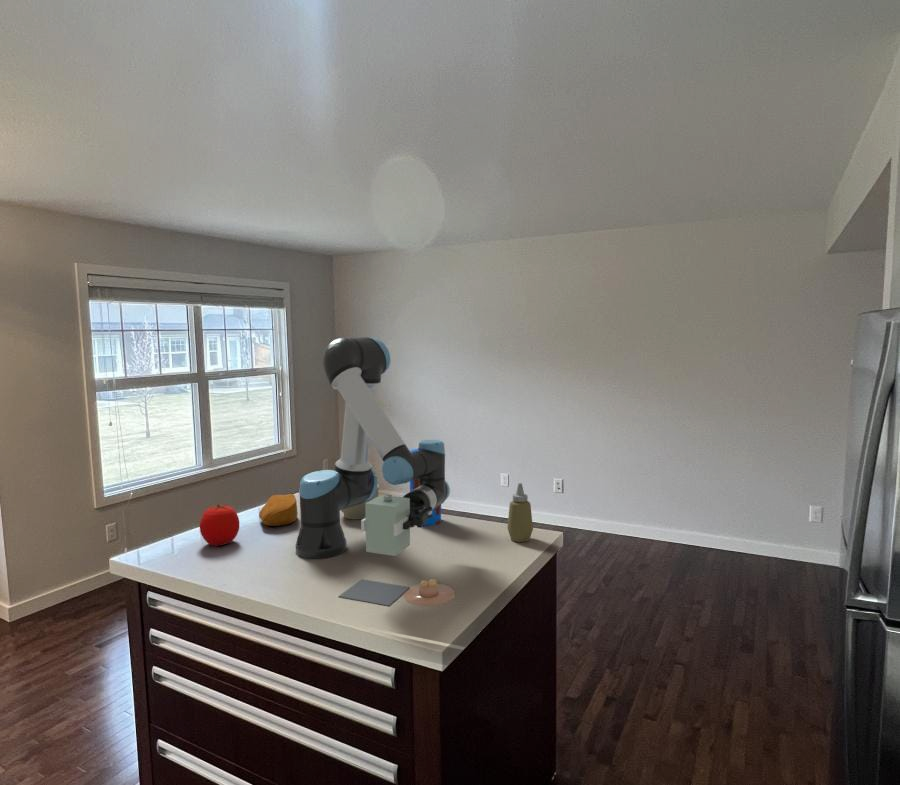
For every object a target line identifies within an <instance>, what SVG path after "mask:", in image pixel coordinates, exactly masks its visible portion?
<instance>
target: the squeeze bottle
mask: <svg viewBox="0 0 900 785" xmlns="http://www.w3.org/2000/svg"><path fill="white" fill-rule="evenodd" d="M515 492H516V493H514V494H512V501H510V502H509V509H508V517H507V525H506V526H507V530H508V533H509V534H508V535H509V537H510V540H511V541H513V542H517V543H524V542H525V543H526V542H529V540H531V536H532V533H533V530H534V527H533V526H534V525H533V515H532V505H531V502H530V501H529V500H528V494H526V493H525V491H524V487H523V483H517V488H516V491H515Z"/></svg>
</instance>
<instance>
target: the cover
mask: <svg viewBox="0 0 900 785" xmlns="http://www.w3.org/2000/svg"><path fill="white" fill-rule="evenodd" d="M365 513H366V531H365V552H366V553H372V554H378V555H379V554H380V555H385V556H393V557H396V556H398V555H399V554H400V553H401V552H403V551H404V550H405V549H407V548H408V547H410V545H411V527H410V528H409V529H407V530H405V531H403V532H402V533H400V534H399V535H398V536H394V524H396V523H397V522H399V521H400V520H402V519H403V518H405V517H408V520H409V514H410V498H404V497H403V496H394V495H393V496H392V495H391V494H385V495H383V494H380V495H378V497H376V498H374V499H373V500H371V501H369V502H367V503H365Z"/></svg>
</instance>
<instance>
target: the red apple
mask: <svg viewBox="0 0 900 785" xmlns="http://www.w3.org/2000/svg"><path fill="white" fill-rule="evenodd" d="M239 531H240V518H239V516H238V513H237V511H236V510H235V508H233V507H231V506H229V505H227V504H226V505H225V504H219V503H218V504H215V505H213V506H210V507H207V509H206V510H205V511H204V512H203V513H202V516H201V518H200V521H199V532H200V534H201V537H202V538H203V540H204V541H205V542H206V543H207V544H208V545H211V546H215V547H218V546H223V545H226V544H229V543H231V542H233V541H234V539H236V537H237V536H238V534H239Z"/></svg>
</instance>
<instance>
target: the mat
mask: <svg viewBox="0 0 900 785" xmlns="http://www.w3.org/2000/svg"><path fill="white" fill-rule="evenodd" d="M410 587H411V586H407V585H406V586H405V585H398V584H394V583H386V582H381V581H375V580H370V579H369V580H368V579H364V578H362V579H360V580H358V581H356V583H355V584H352V585H351V587H349V588H347V589H346V590H345V591H343V592H342V593H340V595H338V596H337V597H338V598H342V599H347V600H350V601H359V602H363V603H369V604H373V605H374V604H375V605H378V606H379V605H380V606H384V607H390V606H391V605H393V604H394V603H395V602H396V601H397V600H398V599H399V598H400V597H401V596H403V593H405V592H406V591H407V590H408V589H409V588H410Z"/></svg>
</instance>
